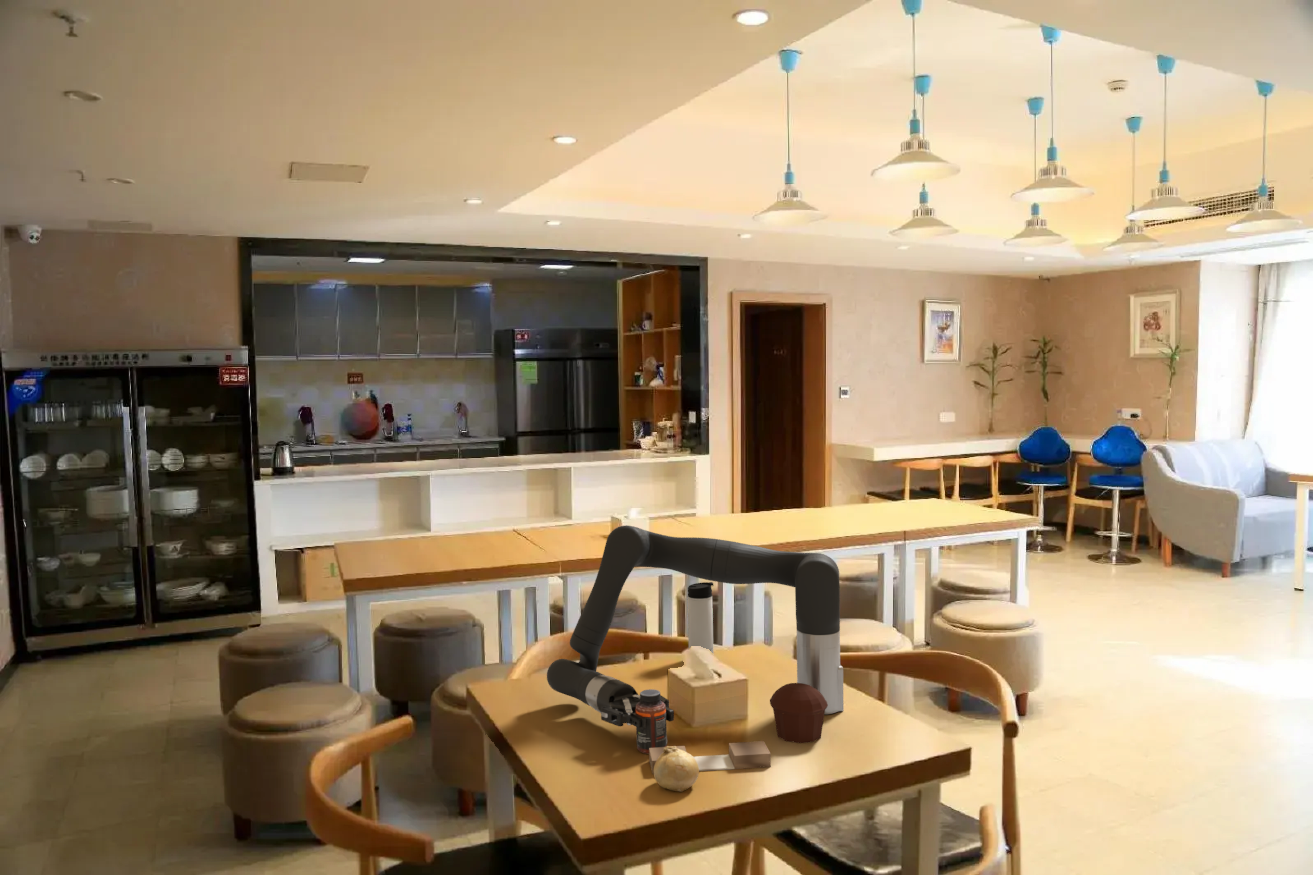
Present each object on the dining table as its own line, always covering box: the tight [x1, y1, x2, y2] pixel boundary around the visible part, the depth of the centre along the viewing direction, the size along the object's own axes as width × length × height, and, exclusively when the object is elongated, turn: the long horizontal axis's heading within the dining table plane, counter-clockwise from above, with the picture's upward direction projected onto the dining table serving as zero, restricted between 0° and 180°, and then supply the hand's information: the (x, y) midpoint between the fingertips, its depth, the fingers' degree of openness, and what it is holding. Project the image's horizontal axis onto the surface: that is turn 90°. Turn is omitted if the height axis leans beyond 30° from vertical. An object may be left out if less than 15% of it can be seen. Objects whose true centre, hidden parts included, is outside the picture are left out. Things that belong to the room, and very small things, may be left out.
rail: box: [648, 740, 772, 775], centre depth 175 cm, size 22×6×2 cm, turn 96°
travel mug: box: [687, 581, 714, 654], centre depth 239 cm, size 6×7×20 cm
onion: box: [653, 745, 700, 793], centre depth 166 cm, size 8×8×7 cm
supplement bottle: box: [635, 688, 668, 755], centre depth 182 cm, size 6×6×11 cm
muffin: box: [769, 682, 828, 744], centre depth 188 cm, size 12×11×10 cm
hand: (658, 720), depth 180 cm, fingers closed on supplement bottle, 6 cm apart
